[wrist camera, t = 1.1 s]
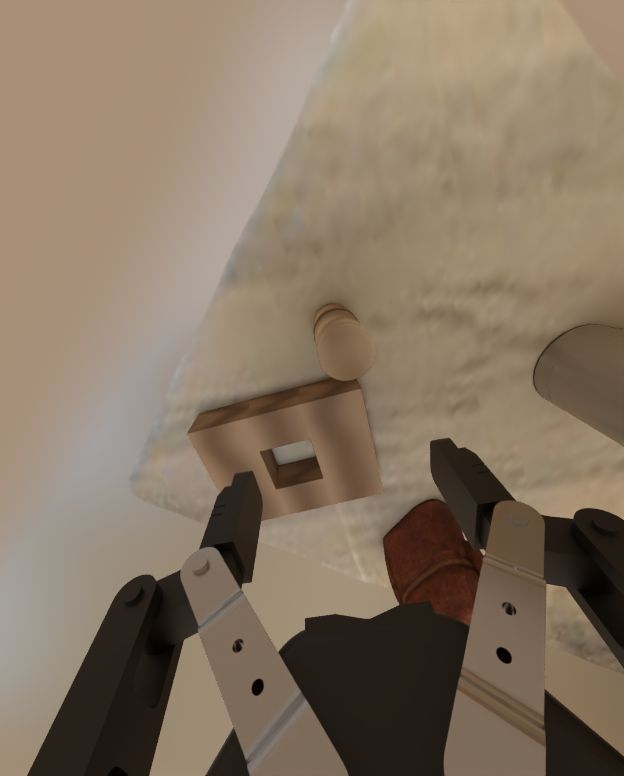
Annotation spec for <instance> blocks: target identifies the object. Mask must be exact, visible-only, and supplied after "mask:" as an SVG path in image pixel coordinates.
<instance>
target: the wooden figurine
mask: <svg viewBox="0 0 624 776" xmlns="http://www.w3.org/2000/svg"><path fill="white" fill-rule="evenodd" d="M384 552H385V561H386V566H387V571H388V575H389V579H390V582H391V585H392V588H393V590H394V594H395V596H396V598H397V601H398V602H399V605H404V604H411V603H418V602H426V601H431V604H432V606H433V609H434V612H439V613H443V614H446V615H449V616H452V617H454V618H457V619H459V620H460V621H462V622H464V623H466V624H467V625H469V626H470V624H471V619H472V613H473V608H474V603H475V598H476V593H477V588H478V583H479V578H480V572H481V567H482V562H483V558H484V556H483V554H482V553H481V551H480V550H473V548H472V547H471V545H470V543H469V541H466V540H465V539H464V536H463V533H462V530H461V527H460V526H459V524H458V522H457V520H456V519H455V517H454V515H453V513H452V512H451V510H450V508H449V506H447V505H446V504H445V503H442V502H440V501H437V500H435V501H429V502H426V503H424V504H422V505H420V506H418V507H416V508H415V509H414V510H413V511H411V512H410V513H409V514H408V515H407V516H406V518H405V519H403V520H402V521H401V522H400V523H399V524H398V525H397V526H396V527H395V528H394V529H393V530H392V531H391V532H390V533H388V535H386V536H385V538H384Z"/></svg>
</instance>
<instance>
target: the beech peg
mask: <svg viewBox="0 0 624 776" xmlns="http://www.w3.org/2000/svg"><path fill="white" fill-rule="evenodd" d="M314 325H315V326H314V339H315V342H316V346H317V352H318V357H319V362H320V365H321V367H322V369H323V370H324V371H325V372H326V373H327V374H328V375H329V376H331V377H332V378H334V379H337V380H342V381H349V380H354V379H357V378H359V377H361V376H363V375H364V374H365V373H366V372H367V371H368V370H369V369H370V368H371V367H372V365H373V363H374V360H375V357H376V346H375V342H374V340H373V338H372V337H371V335H370V334H369V333H368V332H367V331H366V329H365V328H364V327H363V326H362V325H361V324H360V322H359V321H358V319H357V318H356V317H355V316H354V315H353V314H352V313H351V312H350V311H348V310H346V309H345V308H344V307H342V306H341V305H338V304H327V305H325V306H323V307H322V308H320V309H319V311H318V312H317V314H316V316H315V319H314Z"/></svg>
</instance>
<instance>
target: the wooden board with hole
mask: <svg viewBox="0 0 624 776" xmlns="http://www.w3.org/2000/svg"><path fill="white" fill-rule="evenodd" d="M187 435H188V437H189V439H190V441H191V442H192V444H193V446H194V448H195V450H196V451H197V453H198V455H199V457H200V459H201V460H202V462H203V464H204V466H205V468H206V469H207V471H208V473H209V475H210V477H211V478H212V480H213V482H214V484H215V486H216V487H217V489H218V491H219V493H220V492H221V491H222V490H223V489H224V487H227V486H231V484H232V481H233V478H234V475H235V473H240V472H246V471H253V473H254V475H255V478H256V481H257V484H258V486H259V489H260V492H261V495H262V500H263V511H262V517H261V521H263V520H267V519H272V518H276V517H280V516H285V515H289V514H293V513H298V512H302V511H306V510H311V509H315V508H319V507H324V506H328V505H332V504H337V503H341V502H345V501H350V500H354V499H358V498H363V497H367V496H371V495H376V494H380V493H384V491H383V486H382V482H381V477H380V473H379V468H378V464H377V459H376V454H375V450H374V445H373V441H372V436H371V432H370V427H369V423H368V418H367V413H366V409H365V404H364V400H363V395H362V391H361V387H360V385H359V383H358V381H357V379H354V380H349V381H342V380H337V379H334V378H332V379H329V380H325V381H321V382H317V383H313V384H310V385H306V386H302V387H298V388H295V389H291V390H287V391H283V392H279V393H276V394H272V395H268V396H264V397H261V398H257V399H253V400H249V401H245V402H242V403H238V404H234V405H230V406H226V407H223V408H219V409H215V410H211V411H208V412H204V413H200V414H199V415H198V416H197V418H196V420H195V421H194V423H193V425H192V426H191V428H190V430H189V431H188V433H187ZM308 439H311V442H312V445H313V448H314V451H315V454H316V457H313V458H309V459H305V460H301V461H297V462H293V463H289V464H285V465H281V466H278V464H277V462H276V460H275V457H274V455H273V452H272V450H271V449H272V448H276V447H280V446H284V445H288V444H292V443H296V442H300V441H304V440H308Z"/></svg>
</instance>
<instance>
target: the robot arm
mask: <svg viewBox="0 0 624 776" xmlns="http://www.w3.org/2000/svg"><path fill="white" fill-rule="evenodd" d="M534 382H535V386H536V389H537V391H538V392H539V394H540V395H541V396H542V397H544V398H545V399H546V400H548V401H550V402H551V403H553V404H555V405H556V406H558V407H560V408H561V409H563V410H565V411H566V412H568V413H570V414H571V415H573V416H574V417H576V418H578V419H579V420H581V421H583V422H584V423H586V424H588V425H589V426H591V427H593V428H594V429H596V430H597V431H599V432H601V433H602V434H604V435H606V436H607V437H609V438H611V439H612V440H614V441H616V442H617V443H619V444H621V445H622V446H624V329H615V328H611V327H607V326H603V325H597V324H595V325H585V326H581V327H577V328H575V329H573V330H571V331H568V332H567V333H565V334H564V335H562V336H560V337H559V338H558V339H557V340H555V341H554V342H553V343H552V344H551V345H550V346H549V347H548V348H547V349H546V351H545V352H544V353H543V355H542V356H541V358H540V360H539V362H538V364H537V367H536V370H535V375H534ZM430 464H431V473H432V477H433V480H434V482H435V484H436V485H437V487H438V489H439V491H440V492H441V494H442V496H443V498H444V499H445V501H446V503H447V505H448V506H449V508H450V510H451V512H452V513H453V515H454V517H455V519H456V520H457V522H458V524H459V526H460V527H461V529H462V531H463V533H464V534H465V536H466V538H467V540H468V541H469V543H470V545H471V547H472V548H473V550H479V549H484V550H485V555H484V558H483V562H482V567H481V572H480V578H479V583H478V588H477V593H476V598H475V603H474V608H473V613H472V619H471V624H470V626H469V625H467V624H466V623H464V622H462V621H460V620H459V619H457V618H454V617H452V616H449V615H446V614H443V613H439V612H434V609H433V606H432V604H431V601H426V602H418V603H411V604H404V605H399V606H396V607H394V608H392V609H390V610H388V611H386V612H384V613H382V614H380V615H377V616H375V617H373V618H371V619H362V618H356V617H350V616H344V615H337V614H333V615H326V616H319V617H311V618H305V630H303V631H301V632H300V633H298V634H297V635H295V636H294V637H292V638H291V639H290V640H289V641H288V642H287V643H286V644H285V645H284V646H283V647H282V648H281V649H280V651H279V652H278V651H277V650H276V648H275V646H274V644H273V643H272V641H271V639H270V638H269V636H268V634H267V632H266V631H265V629H264V627H263V625H262V624H261V622H260V620H259V619H258V617H257V615H256V613H255V612H254V610H253V608H252V606H251V605H250V603H249V602H248V600H247V598H246V596H245V595H244V593H243V591H241V587H242V584H243V583H250V582H252V576H253V570H254V563H255V557H256V549H257V544H258V537H259V530H260V524H261V517H262V511H263V500H262V495H261V492H260V489H259V486H258V484H257V481H256V478H255V475H254V473H253V471H246V472H240V473H235V475H234V478H233V481H232V484H231V486H227V487H224V489H223V490H222V491H221V492H220V494H219V495H218V496H217V499H216V502H215V505H214V509H213V511H212V513H211V517H210V519H209V522H208V525H207V528H206V531H205V534H204V537H203V539H202V542H201V545H200V548H199V550H198V551H196V552H194V553H193V554H192V555H191V556H190V557H189V558H188V559H187V560H186V562H185V563H184V565H183V567H182V569H181V570H179V571H178V572H176V573H173V574H171V575H169V576H167V577H165V578H163V579H160V580H158V581H156V580H155V578H154V577H153V576H151V575H141V576H138V577H136V578H134V579H132V580H131V581H130V582H128V583H127V584H126V585H124V586H123V587H122V589H121V590H120V591H119V592H118V594H117V595H116V596H115V598H114V600H113V602H112V604H111V606H110V608H109V610H108V612H107V614H106V616H105V618H104V620H103V622H102V624H101V626H100V628H99V630H98V632H97V635H96V637H95V638H94V641H93V643H92V645H91V647H90V649H89V651H88V653H87V655H86V657H85V659H84V661H83V663H82V665H81V667H80V669H79V671H78V673H77V675H76V677H75V679H74V681H73V683H72V685H71V688H70V690H69V691H68V694H67V696H66V698H65V700H64V702H63V704H62V706H61V708H60V710H59V712H58V714H57V716H56V718H55V720H54V722H53V724H52V726H51V728H50V730H49V732H48V734H47V736H46V739H45V741H44V742H43V744H42V746H41V749H40V751H39V753H38V755H37V757H36V759H35V761H34V763H33V765H32V767H31V769H30V771H29V773H28V775H27V776H149V774H150V769H151V766H152V762H153V758H154V754H155V750H156V746H157V743H158V738H159V735H160V731H161V727H162V723H163V719H164V715H165V711H166V708H167V704H168V700H169V696H170V692H171V688H172V684H173V680H174V677H175V673H176V669H177V664H178V661H179V657H180V653H181V649H182V645H183V641H184V639H186V638H188V637H190V636H192V635H194V634H196V633H199V636H200V639H201V641H202V644H203V646H204V649H205V652H206V654H207V657H208V660H209V662H210V665H211V668H212V670H213V673H214V676H215V678H216V681H217V684H218V686H219V689H220V692H221V694H222V697H223V700H224V702H225V705H226V708H227V710H228V713H229V716H230V718H231V721H232V724H233V726H234V727H233V729H232V731H231V733H230V734H229V736H228V738H227V739H226V741H225V743H224V745H223V746H222V748H221V750H220V752H219V753H218V755H217V757H216V758H215V760H214V762H213V764H212V765H211V767H210V769H209V770H208V772H207V774H206V775H205V776H624V756H623V755H622V754H620V753H619V752H618V751H617V750H616V749H615V748H613V747H612V746H611V745H610V744H609V743H608V742H606V741H605V740H604V739H603V738H602V737H600V736H599V735H598V734H597V733H596V732H595V731H593V730H592V729H591V728H590V727H589V726H588V725H586V724H585V723H584V722H583V721H582V720H581V719H579V718H578V717H577V716H576V715H575V714H573V713H572V712H571V711H570V710H569V709H568V708H566V707H565V706H564V705H563V704H562V703H560V702H559V701H558V700H557V699H556V698H555V697H553V696H552V695H551V694H550V693H549V692H548V691H546V690H545V635H546V584H551V585H557V586H562V587H566V588H567V590H568V591H569V592H570V594H571V595H572V597H573V598H574V599H575V601H576V602H577V604H578V605H579V606H580V608H581V609H582V611H583V612H584V613H585V615H586V616H587V618H588V619H589V620H590V622H591V623H592V625H593V626H594V627H595V629H596V630H597V632H598V633H599V634H600V636H601V637H602V639H603V640H604V641H605V643H606V644H607V646H608V647H609V648H610V650H611V651H612V653H613V654H614V655H615V657H616V658H617V660H618V661H619V662H620V664H621V665H622V667H623V668H624V520H623V519H621V518H620V517H618V516H616V515H614V514H612V513H609V512H606V511H603V510H599V509H593V508H585V509H581V510H578V511H577V512H576V513H575V515H574V518H573V519H569V518H560V517H550V516H544V515H540V514H539V512H537V511H536V510H535V509H534V508H532V507H531V506H529V505H527V504H525V503H522V502H518V501H516V500H515V499H514V498H513V497H512V496H511V494H510V493H509V492H508V491H507V490H506V489H505V487H504V486H503V485H502V484H501V483H500V481H499V480H498V479H497V478H496V477H495V476H494V474H493V473H492V472H490V470H489V469H488V467H487V466H486V465H484V463H483V462H482V460H481V459H480V458H479V457H478V456H477V455H476V454H475V453H473V452H472V451H470V450H468V449H467V448H465V447H464V448H457V446H456V445H455V444H454V443H453V441H452V440H451V439H450V438H444V439H438V440H433V441H431V442H430Z"/></svg>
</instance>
